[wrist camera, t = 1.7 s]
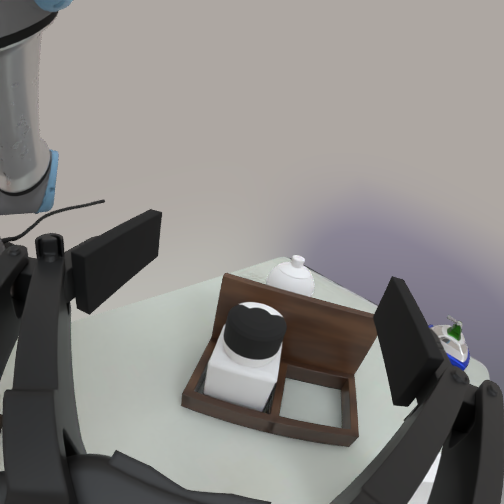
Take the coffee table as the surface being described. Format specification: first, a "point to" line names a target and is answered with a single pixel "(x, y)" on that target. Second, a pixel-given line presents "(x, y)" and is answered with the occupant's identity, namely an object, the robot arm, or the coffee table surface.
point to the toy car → (453, 343)
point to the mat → (1, 421)
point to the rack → (294, 359)
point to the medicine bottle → (246, 356)
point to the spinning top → (292, 277)
